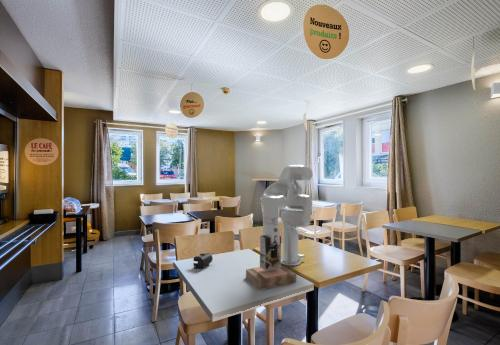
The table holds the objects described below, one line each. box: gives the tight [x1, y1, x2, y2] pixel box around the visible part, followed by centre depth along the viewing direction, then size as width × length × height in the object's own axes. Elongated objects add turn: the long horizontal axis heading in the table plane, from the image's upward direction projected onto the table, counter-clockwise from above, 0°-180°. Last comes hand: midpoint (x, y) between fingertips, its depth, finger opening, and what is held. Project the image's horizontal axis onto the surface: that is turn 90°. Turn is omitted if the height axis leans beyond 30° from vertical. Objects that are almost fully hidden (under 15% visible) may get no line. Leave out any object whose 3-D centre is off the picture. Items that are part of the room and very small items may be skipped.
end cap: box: [192, 252, 213, 270], centre depth 146 cm, size 10×7×7 cm
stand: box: [245, 264, 297, 291], centre depth 127 cm, size 20×16×4 cm
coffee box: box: [259, 235, 282, 271], centre depth 128 cm, size 9×6×16 cm
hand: (270, 255), depth 128 cm, fingers closed on coffee box, 6 cm apart
